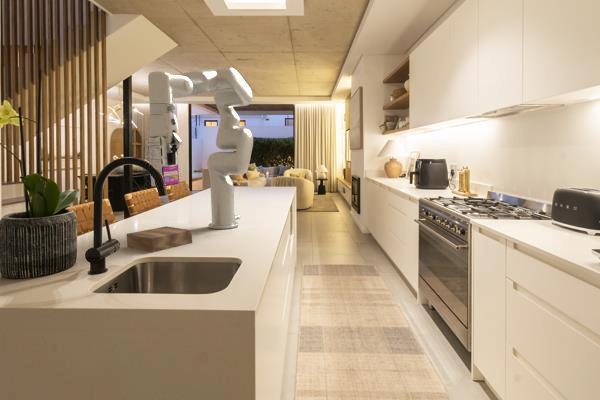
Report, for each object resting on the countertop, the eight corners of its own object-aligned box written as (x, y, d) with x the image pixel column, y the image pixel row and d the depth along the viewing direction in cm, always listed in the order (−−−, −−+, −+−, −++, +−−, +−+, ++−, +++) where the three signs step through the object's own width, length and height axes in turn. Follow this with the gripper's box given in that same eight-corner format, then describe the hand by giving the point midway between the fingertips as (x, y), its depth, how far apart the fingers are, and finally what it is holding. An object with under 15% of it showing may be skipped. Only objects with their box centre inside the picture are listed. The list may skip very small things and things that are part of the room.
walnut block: (166, 239, 153) (166, 226, 152) (192, 244, 145) (191, 230, 144) (127, 248, 140) (126, 233, 139) (153, 253, 132) (152, 238, 131)
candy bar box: (166, 184, 146) (164, 137, 144) (179, 184, 145) (177, 137, 143) (149, 186, 135) (147, 136, 133) (163, 186, 134) (161, 135, 132)
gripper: (189, 110, 137) (191, 164, 139) (151, 112, 144) (153, 164, 146) (173, 108, 130) (175, 165, 132) (134, 111, 138) (137, 165, 140)
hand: (164, 164), depth 139 cm, fingers closed on candy bar box, 6 cm apart
